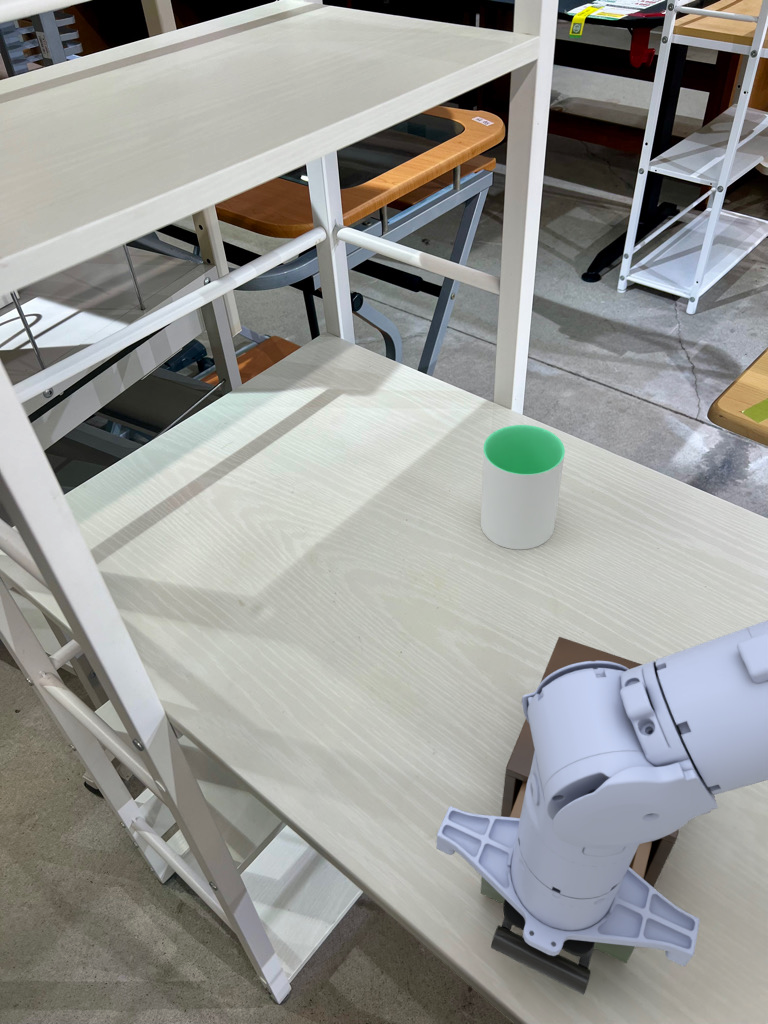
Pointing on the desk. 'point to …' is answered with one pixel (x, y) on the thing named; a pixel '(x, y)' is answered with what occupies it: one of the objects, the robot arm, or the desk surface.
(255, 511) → the desk surface
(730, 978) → the desk surface
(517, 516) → the mug
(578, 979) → the drawer
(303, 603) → the desk surface
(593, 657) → the cabinet
